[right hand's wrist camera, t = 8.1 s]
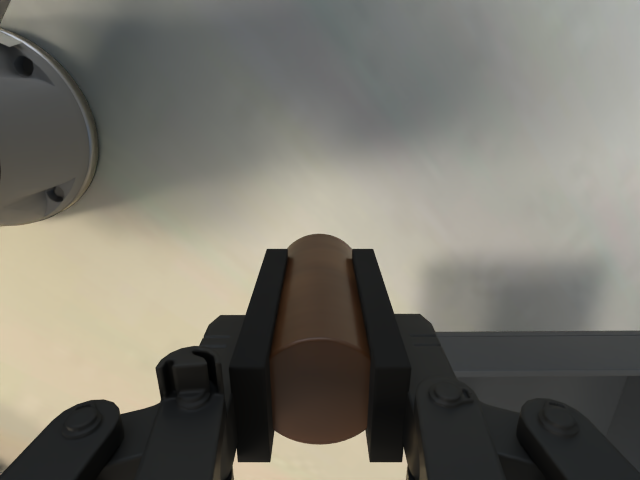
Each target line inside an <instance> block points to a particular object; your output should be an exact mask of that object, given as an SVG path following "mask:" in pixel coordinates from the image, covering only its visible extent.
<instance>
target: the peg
mask: <svg viewBox="0 0 640 480" xmlns="http://www.w3.org/2000/svg"><path fill="white" fill-rule="evenodd" d="M287 249H288V260H287V265H286V270H285V276H284V281H283V286H282V292H281V297H280V302H279V307H278V313H277V318H276V323H275V329H274V334H273V339H272V345H271V350H270V356H269V363H270V381H271V400H272V418H273V429H274V430H275V431H276V432H278V433H279V434H281V435H283V436H285V437H287V438H289V439H292V440H295V441H298V442H302V443H308V444H331V443H337V442H341V441H345V440H347V439H350V438H352V437H354V436H356V435H358V434H360V433H361V432H363V431H364V430H366V429H367V419H368V400H369V382H370V363H371V357H370V351H369V346H368V340H367V335H366V330H365V324H364V319H363V314H362V309H361V303H360V298H359V293H358V288H357V282H356V277H355V272H354V266H353V261H352V249H351V248H350V247H349V245H348V244H346V243H345V242H344V241H342V240H341V239H339V238H336V237H334V236H331V235H326V234H312V235H307V236H305V237H302V238H300V239H298V240H296V241H295V242H293V243H292V244H291V245H290V246H289V247H288V248H287Z"/></svg>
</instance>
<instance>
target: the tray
mask: <svg viewBox="0 0 640 480" xmlns="http://www.w3.org/2000/svg"><path fill="white" fill-rule="evenodd" d="M435 333H436V336H437V337H438V339H439V341H440V343H441V347H442V348H443V350H444V352H445V354H446V356H447V358H448V361H449V363H450V365H451V367H452V369H453V371H454V373H455V376H456V378H457V380H459V381H461V382H463V383H465V384H466V385H467V386H469V387H470V388H471V389H472V390H473V391H474V392H475V394H476V395H477V397H478V399H479V401H481V402H483V403H485V404H488V405H491V406H494V407H498V408H502V409H506V410H510V411H514V412H519V413H520V411H521V407H522V406H523V405H524V403H525V402H526V401H528V400H531V399H535V398H547V399H552V400H556V401H559V402H563V403H565V404H567V405H569V406H571V407H573V408H575V409H576V410H578V411H579V412H580V413H581V414H583V415H584V416H585V417H586V418H588V419H589V420H590V421H591V422H592V423H593V424H594V426H595V427H596V428H597V429H598V430H599V431H600V432H601V433H602V434H603V435H604V436H605V437H606V438H607V439H608V440H609V441H610V442H611V443H612V444H613V445H614V446H615V447H616V448H617V450H618V451H619V452H620V453H621V454H622V455H623V456H624V457H625V458H626V459H627V460H628V461H629V462H630V463H631V464H632V465H633V466H634V467H635V468H636V469H637V470H638V471H639V472H640V331H519V332H435Z"/></svg>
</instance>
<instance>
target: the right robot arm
mask: <svg viewBox="0 0 640 480" xmlns="http://www.w3.org/2000/svg"><path fill="white" fill-rule="evenodd" d="M10 1H11V0H0V23H1V21H2V19H3V16H4V14H5V12H6V10H7V7H8V5H9V3H10ZM97 161H98V136H97V130H96V126H95V122H94V118H93V116H92V113H91V110H90V108H89V105H88V103H87V101H86V99H85V97H84V95H83V94H82V92H81V90H80V89H79V87H78V86H77V84H76V82H75V81H74V80H73V79H72V77H71V76H70V75H69V73H68V72H67V71H66V70H65V69H64V68H63V67H62V66H61V65H60V64H59V63H58V62H57V61H56V60H55V59H54V58H53V57H52V56H51V55H49V54H48V53H47V52H46V51H44V50H43V49H42V48H40V47H39V46H37V45H36V44H34V43H33V42H31V41H29V40H27V39H26V38H24V37H22V36H20V35H17V34H15V33H13V32H10V31H7V30H5V29H1V28H0V226H15V225H24V224H29V223H33V222H37V221H41V220H44V219H47V218H49V217H52V216H54V215H56V214H58V213H60V212H61V211H63V210H65V209H67V208H69V207H70V206H72V205H73V204H74V203H75V202H76V201H78V200H79V199H80V197H81V196H82V195H83V194H84V193H85V191H86V190H87V188H88V187H89V185H90V183H91V181H92V179H93V176H94V174H95V170H96V166H97ZM287 260H288V249H267V251H266V254H265V257H264V260H263V263H262V266H261V269H260V272H259V275H258V278H257V281H256V284H255V288H254V291H253V294H252V297H251V300H250V303H249V306H248V309H247V312H246V315H220V316H219V317H218V318H216V319H215V320H214V321H213V322H212V323H211V324H209V326H208V328H207V330H206V332H205V335H204V338H203V339H202V341H201V343H200V345H199V346H192V347H186V348H181V349H179V350H176V351H174V352H172V353H170V354H168V355H167V356H166V357H164V358H163V359H162V360H161V361H160V362H159V364H158V365H157V366H156V373H157V379H158V384H159V390H160V395H161V402H160V403H158V404H156V405H154V406H151V407H148V408H145V409H141V410H137V411H132V412H128V413H124V414H120V411H119V408H118V407H117V406H116V405H115V404H114V402H110V401H107V400H90V401H87V402H83V403H80V404H77V405H75V406H73V407H71V408H69V409H67V410H65V411H64V412H62V413H61V414H60V415H59V416H57V417H56V418H55V419H54V420H53V421H52V422H51V423H50V424H49V425H48V426H47V427H46V428H45V429H44V430H43V431H42V432H41V433H40V434H39V435H38V436H37V437H36V438H35V439H34V441H33V442H32V443H31V444H30V445H29V446H28V447H27V448H26V449H25V450H24V451H23V452H22V453H21V454H20V455H19V456H18V457H17V458H16V459H15V460H14V461H13V463H12V464H11V465H10V466H9V467H8V468H7V469H6V470H5V471H4V472H3V473H2V474H1V475H0V480H234V476H233V467H232V466H233V461H234V457H235V452H236V448H237V456H238V462H270V460H271V452H272V445H273V437H274V429H273V418H272V400H271V381H270V363H269V356H270V350H271V345H272V339H273V334H274V329H275V323H276V318H277V313H278V307H279V302H280V297H281V292H282V286H283V281H284V276H285V270H286V265H287ZM352 261H353V266H354V272H355V277H356V282H357V288H358V293H359V298H360V303H361V309H362V314H363V319H364V324H365V330H366V335H367V340H368V346H369V351H370V357H371V363H370V382H369V400H368V419H367V429H366V437H367V444H368V452H369V460H370V462H402V457H403V447H404V450H405V455H406V459H407V463H408V467H407V476H406V480H640V472H639V471H638V470H637V469H636V468H635V467H634V466H633V465H632V464H631V463H630V462H629V461H628V460H627V459H626V458H625V457H624V456H623V455H622V454H621V453H620V452H619V451H618V450H617V448H616V447H615V446H614V445H613V444H612V443H611V442H610V441H609V440H608V439H607V438H606V437H605V436H604V435H603V434H602V433H601V432H600V431H599V430H598V429H597V428H596V427H595V426H594V424H593V423H592V422H591V421H590V420H589V419H588V418H586V417H585V416H584V415H583V414H581V413H580V412H579V411H578V410H576V409H575V408H573V407H571V406H569V405H567V404H565V403H563V402H559V401H556V400H552V399H547V398H535V399H531V400H528V401H526V402H525V403H524V405H523V406H522V407H521V411H520V413H519V412H514V411H510V410H506V409H502V408H498V407H494V406H491V405H488V404H485V403H483V402H481V401H479V399H478V397H477V395H476V394H475V392H474V391H473V390H472V389H471V388H470V387H469V386H467V385H466V384H465V383H463V382H461V381H459V380H457V378H456V376H455V373H454V371H453V369H452V367H451V365H450V363H449V361H448V358H447V356H446V354H445V352H444V350H443V348H442V347H441V343H440V341H439V339H438V337H437V336H436V333H435V331H434V328H433V326H432V324H431V323H430V322H429V321H428V320H426V319H425V318H424V317H423V316H422V315H420V314H394V312H393V309H392V306H391V303H390V300H389V297H388V294H387V290H386V287H385V284H384V281H383V278H382V275H381V272H380V269H379V266H378V263H377V260H376V257H375V253H374V250H373V249H352Z"/></svg>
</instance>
